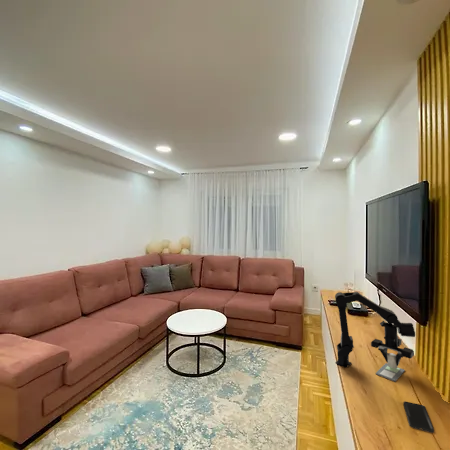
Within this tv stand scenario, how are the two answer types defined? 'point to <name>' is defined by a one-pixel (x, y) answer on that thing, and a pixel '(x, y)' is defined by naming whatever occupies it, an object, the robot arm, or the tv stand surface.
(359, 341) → the tv stand surface
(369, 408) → the tv stand surface
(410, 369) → the tv stand surface
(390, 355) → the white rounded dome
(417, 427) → the phone
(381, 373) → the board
